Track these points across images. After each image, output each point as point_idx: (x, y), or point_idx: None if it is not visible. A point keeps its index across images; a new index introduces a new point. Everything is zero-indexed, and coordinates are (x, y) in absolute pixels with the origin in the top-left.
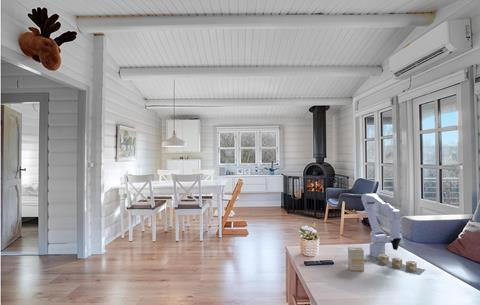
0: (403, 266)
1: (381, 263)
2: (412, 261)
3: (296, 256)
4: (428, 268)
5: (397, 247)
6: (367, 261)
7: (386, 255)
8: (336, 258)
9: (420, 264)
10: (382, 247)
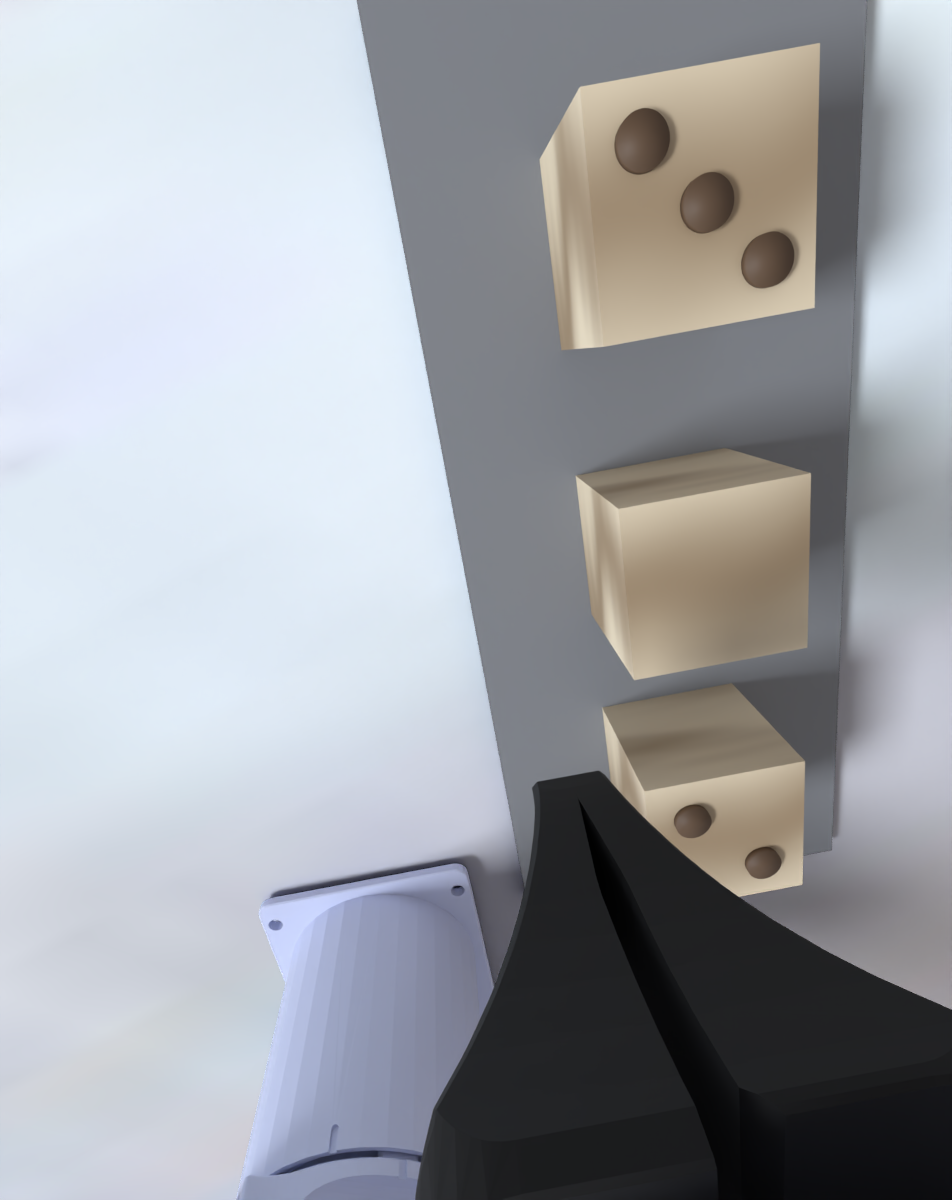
0: (581, 448)
1: None
2: (623, 206)
3: None
4: (136, 48)
5: (601, 815)
6: (763, 906)
7: (688, 815)
8: None
9: (60, 326)
10: (418, 1088)
